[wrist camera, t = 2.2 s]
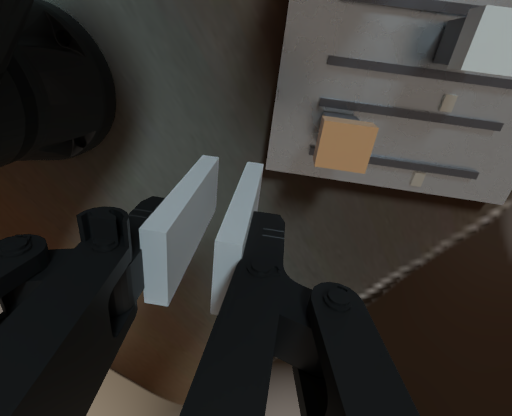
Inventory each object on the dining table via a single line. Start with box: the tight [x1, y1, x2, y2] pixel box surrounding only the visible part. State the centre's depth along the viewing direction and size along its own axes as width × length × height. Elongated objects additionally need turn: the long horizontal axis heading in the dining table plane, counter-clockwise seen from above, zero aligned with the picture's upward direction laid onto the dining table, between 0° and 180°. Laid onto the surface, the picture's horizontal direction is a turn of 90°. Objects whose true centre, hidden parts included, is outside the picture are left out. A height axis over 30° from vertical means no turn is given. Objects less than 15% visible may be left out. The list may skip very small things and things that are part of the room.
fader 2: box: [433, 5, 512, 77], centre depth 22 cm, size 4×4×6 cm
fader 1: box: [313, 111, 379, 174], centre depth 26 cm, size 4×4×6 cm
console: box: [266, 0, 512, 205], centre depth 27 cm, size 24×18×3 cm
